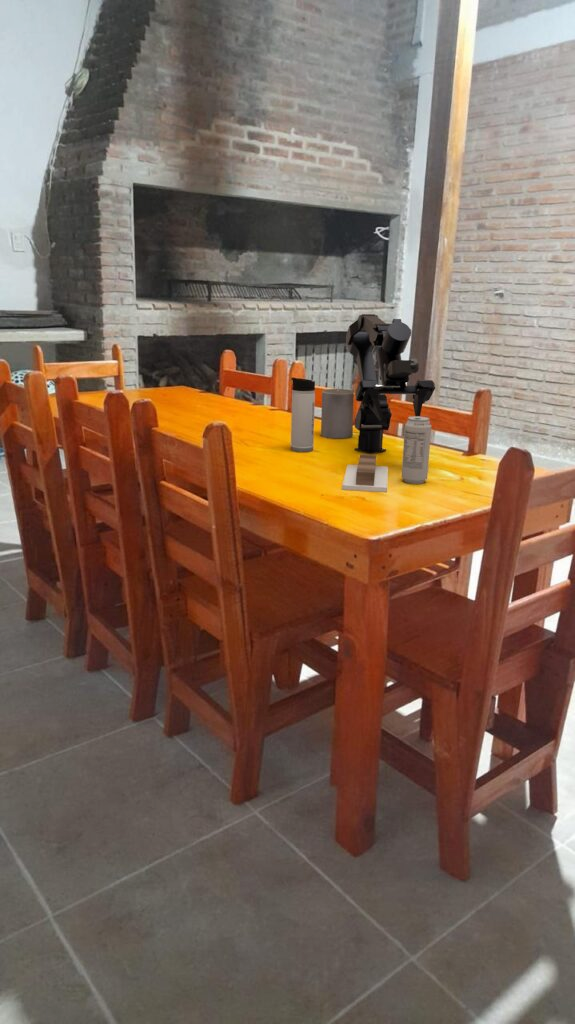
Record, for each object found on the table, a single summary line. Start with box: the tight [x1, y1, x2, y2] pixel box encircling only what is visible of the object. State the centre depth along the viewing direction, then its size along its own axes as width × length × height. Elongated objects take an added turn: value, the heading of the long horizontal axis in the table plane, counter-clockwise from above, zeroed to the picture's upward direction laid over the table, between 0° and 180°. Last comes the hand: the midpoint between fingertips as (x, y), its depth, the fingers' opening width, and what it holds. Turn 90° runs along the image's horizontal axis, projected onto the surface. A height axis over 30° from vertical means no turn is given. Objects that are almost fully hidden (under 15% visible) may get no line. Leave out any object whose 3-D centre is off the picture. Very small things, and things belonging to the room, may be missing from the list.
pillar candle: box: [320, 386, 355, 440], centre depth 218 cm, size 10×10×15 cm
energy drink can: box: [401, 415, 432, 485], centre depth 168 cm, size 6×6×15 cm
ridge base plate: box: [341, 464, 389, 493], centre depth 170 cm, size 20×10×1 cm, turn 172°
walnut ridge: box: [356, 454, 377, 486], centre depth 170 cm, size 18×4×3 cm, turn 172°
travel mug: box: [290, 377, 316, 453], centre depth 197 cm, size 6×7×20 cm
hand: (399, 420), depth 173 cm, fingers open, 9 cm apart
